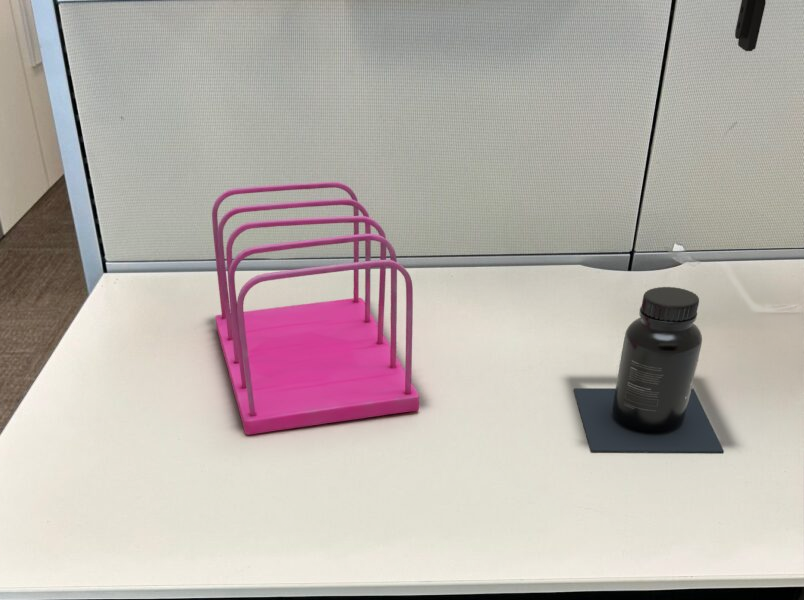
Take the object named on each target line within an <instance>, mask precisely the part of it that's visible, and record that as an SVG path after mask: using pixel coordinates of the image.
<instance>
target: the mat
mask: <svg viewBox="0 0 804 600" xmlns="http://www.w3.org/2000/svg"><path fill="white" fill-rule="evenodd" d="M615 389H616V387H613V388H612V387H611V388H610V387H607V388H606V387H603V388H602V387H601V388H600V387H599V388H597V387H595V388H594V387H593V388H592V387H589V388H588V387H587V388H586V387H583V388H582V387H577V388H575V387H574V388H573V393H574V397H575V400H576V404H577V407H578V410H579V414H580V418H581V421H582V425H583V428H584V432H585V435H586V440H587V443H588V446H589V450H590V453H654V454H655V453H656V454H657V453H660V454H661V453H663V454H665V453H667V454H668V453H669V454H670V453H671V454H673V453H674V454H677V453H678V454H679V453H680V454H681V453H682V454H685V453H686V454H724V453H725V450H724V449H723V447H722V444H721V442H720V440H719V438H718V436H717V434H716V432H715V430H714V428H713V425H712V423H711V422H710V420H709V416H708V415H707V413H706V411H705V409H704V407H703V405H702V403H701V400H700V398H699V397H698V395H697V393H696V391H695V388H692V389H691V393H690V397H689V402H688V406H687V410H686V414H685V417H684V420H683V422H682V423H681V424H680V425H679V426H678V427H676V428H675V429H673V430H670V431H667V432H660V433H648V432H640V431H636V430H633V429H630V428H627V427H625V426H623V425H622V424H620V423H619V422H618V421H617V420H616V419H615V417H614V415H613V411H612V408H613V401H614V395H615Z"/></svg>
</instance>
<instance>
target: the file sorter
mask: <svg viewBox="0 0 804 600" xmlns="http://www.w3.org/2000/svg"><path fill="white" fill-rule="evenodd" d="M332 188H334V189H335V188H336V189H340V190H343V191H344V192H346V193H347V194H348V195H349V196H350V198H329V199H314V200H312V199H311V200H298V201H297V200H296V201H286V202H285V201H284V202H274V203H273V202H271V203H260V204H250V205H249V204H248V205H239V206H236V207H233V208H232V209H230V210H228V211H227V212H225V214H224V215H223V216H222V218H221V219H220V221H219V220H218V210H219V207H220V205H221V204H222V203H223V202H224V201H225V200H226V199H227V198H229V197H231V196H234V195H243V194H244V195H245V194H255V193H268V192H269V193H270V192H282V191H297V190H314V189H315V190H316V189H332ZM328 206H350V207H353V215H343V216H342V215H341V216H320V217H319V216H318V217H299V218H285V219H284V218H282V219H265V220H254V221H253V220H252V221H248V222H247V221H246V222H244V223H241V224H239V226H237V227H235V229H233V231H232V232H231V234H230V235H229V237H228V239H227V241H226V249H225V247H224V228H225V226H226V223H228V221H229V220H230V219H231V218H232V217H234V216H235V215H238V214H241V213H250V212H251V213H252V212H260V211H262V212H263V211H273V210H286V209H297V208H312V207H313V208H314V207H328ZM211 209H212V211H211V222H212V234H213V235H212V236H213V245H214V255H215V263H216V264H215V265H216V274H217V284H218V291H219V303H220V312H221V314H217V315H215V326H216V332H217V334H218V338H219V341H220V346H221V349H222V353H223V357H224V360H225V364H226V368H227V371H228V375H229V378H230V382H231V386H232V389H233V394H234V398H235V400H236V404H237V408H238V412H239V415H240V419H241V423H242V427H243V431H244V433H245V435H254V434H262V433H267V432H268V433H269V432H275V431H281V430H283V431H284V430H290V429H295V428H296V429H297V428H303V427H309V426H316V425H324V424H328V423H329V424H330V423H338V422H346V421H351V420H359V419H366V418H367V419H368V418H373V417H380V416H387V415H395V414H401V413H407V412H408V413H409V412H415V411H419V410H420V395H419V392H418V391H417V389H416V388H415V386H414V384H413V383H412V382H413V381H412V373H413V371H412V368H413V367H412V366H413V321H414V317H413V314H414V311H413V309H414V306H413V305H414V296H413V295H414V293H413V290H414V289H413V282H412V277H411V275H410V273H409V272H408V270H407V269H406V268H405V267H404V266H403V265H402V264H401V263H400V262H398V261H397V254H396V250H395V248H394V246H393V244H392V243H391V242H390V241H389V240H388V239H387V236H386V232H385V231H384V228H383V227H382V226H381V225H380V224H379V222H378V221H377V220H376V219H373V218H372V217H370V214H369V212H368V210H367V209H366V208H365V207H364V205H363V204H362V203H361V202H359V201H358V197H357V195H356V193H355V192H354V191H353V189H352V188H351V187H350V186H348V184H346V183H343V182H339V181H321V182H319V181H318V182H317V181H316V182H303V183H285V184H271V185H270V184H269V185H258V186H256V185H255V186H245V187H235V188H231V189H227V190H225V191H224V192H222V193H220V195H219V196H218V197H217V198H216V199H215V201H214V203H213V206H212V208H211ZM359 212H360V213H361V214H362V215H359ZM218 221H219V222H218ZM352 223H353V234H350V235H339V236H331V237H320V238H312V239H305V240H296V241H285V242H278V243H269V244H264V245H263V244H262V245H261V244H260V245H254V246H251V247H248V248H245V249H243V250H242V251H240V252H239V253H238V254H237V255H235V257H234V258H233V247H234V243H235V240H236V239H237V238H238V236H240V235H241V234H242V233H243V232H245V231H247V230H251V229H261V228H274V227H289V226H291V227H292V226H293V227H294V226H306V225H307V226H309V225H329V224H352ZM360 223H361V224H363V223H364V232H365V233H360V229H359V228H360ZM372 227H373V228H374V229H375V230H376V231H377V233H378V234H377V233H372V232H371V231H372V229H371V228H372ZM372 241H374V242H378V243H380V244H379V245H380V249H379V250H380V251H379V252H380V253H379V255H380V256H379V257H380V258H379V259H376V260H371V256H372ZM360 242H364V249H365V250H364V251H365V252H364V257H365V258H364V259H365V260H364V261H360ZM346 243H347V244H348V243H353V262H347V263H339V264H330V265H322V266H321V265H320V266H312V267H303V268H297V269H289V270H281V271H273V272H266V273H262V274H257V275H255V276H253V277H251V278H250V279H249V280H248V281H246V282H245V284H243V285H242V287H241V288H240V290H239V293H238V296H237V291H236V278H235V276H236V271H237V268H238V266H239V265H240V263H241V262H242V261H243V260H245V259H246V258H247V257H250V256H252V255H254V254H255V255H256V254H262V253H263V254H264V253H272V252H279V251H285V250H286V251H287V250H295V249H304V248H311V247H321V246H330V245H339V244H340V245H341V244H346ZM225 250H226V255H225ZM387 252H388V254H389V258H390V259H387ZM225 256H226V258H225ZM375 268H376V269H377V268H379V286H378V287H379V288H378V311H377V321H376V319H375V317H374V316H373V314H372V312H371V271H372V270H371V269H375ZM387 268H390V343H389V341H388V340H387V338H386V336H385V335H384V326H385V325H384V321H385V299H386V272H387ZM360 270H364V273H365V274H364V299H363V298H362V297H359V296H360V295H359V291H360V290H359V289H360V288H359V287H360V285H359V283H360V281H359V278H360V276H359V275H360V273H359V271H360ZM348 271H353V293H352V294H353V297H352V298H343V299H336V300H328V301H319V302H312V303H303V304H294V305H286V306H279V307H270V308H262V309H261V308H260V309H254V310H247V311H246V310H245V311H244V302H245V298H246V296H247V294H248V293H249V291H251V289H252V288H253V287H254V286H256V285H257V284H259V283H263V282H269V281H275V280H283V279H290V278H298V277H305V276H314V275H323V274H331V273H332V274H333V273H338V272H348ZM398 272H399V273H401V275H402V276H403V278H404V282H405V362H404V363H405V366H404V367H403V365H402V363H401V362H400V360H399V358H398V356H397V321H398V320H397V319H398V309H397V308H398V307H397V306H398ZM404 368H405V369H404Z"/></svg>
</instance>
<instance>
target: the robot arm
mask: <svg viewBox="0 0 804 600" xmlns="http://www.w3.org/2000/svg"><path fill="white" fill-rule="evenodd" d="M766 3H767V0H741V2H740V7H739V11H738V16H737V21H736V26H735V31H734V37H735V39H737V42H738V43H737V46H738V47H739V48H741V50H743V51H744V52H753V51H754V50H756V47H757V43H758V39H759V34H760V29H761V25H762V21H763V17H764V13H765V8H766Z"/></svg>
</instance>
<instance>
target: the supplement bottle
mask: <svg viewBox="0 0 804 600" xmlns="http://www.w3.org/2000/svg"><path fill="white" fill-rule="evenodd" d="M641 302H642V303H641V306H640V308H639V313H638V315H639V317H638V318H636V319H635V320H633V321H632V322H631V323H630V324H629V325H628V327H627V328H626V330H625V334H624V338H623V344H622V350H621V355H620V360H619V367H618V372H617V378H616V383H615V388H616V389H615V395H614V401H613V408H612V411H613V415H614V417H615V419H616V420H617V421H618V422H619V423H620V424H622V425H623V426H625V427H627V428H630V429H633V430H636V431H640V432H648V433H660V432H667V431H670V430H673V429H675V428H676V427H678V426H679V425H680V424H681V423H682V422H683V420H684V417H685V414H686V410H687V406H688V402H689V397H690V393H691V389H693V384H694V380H695V375H696V371H697V367H698V363H699V362H698V361H699V358H700V354H701V349H702V345H703V334H702V332H701V329H700V328H699V326H697V325H696V324H695V322H696V320H697V316H698V309H699V305H700V297H699V296H698V295H697V294H696V293H694V292H693V291H690V290H688V289H686V288H680V287H674V286H658V287H653V288H650V289H648V290H647V291H645V292H644V293H643V297H642V301H641Z"/></svg>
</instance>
